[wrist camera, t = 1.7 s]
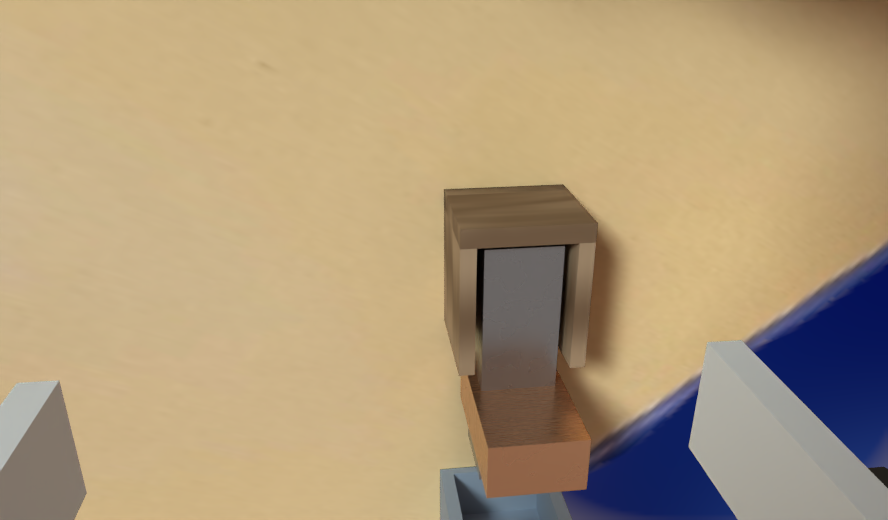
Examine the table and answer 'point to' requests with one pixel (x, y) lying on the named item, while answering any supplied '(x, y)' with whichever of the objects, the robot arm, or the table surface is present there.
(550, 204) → the sleeve
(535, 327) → the blue and tan block
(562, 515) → the grey rectangular block
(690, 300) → the table surface
